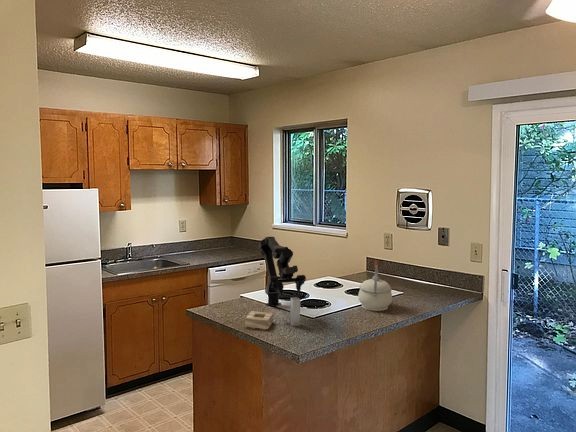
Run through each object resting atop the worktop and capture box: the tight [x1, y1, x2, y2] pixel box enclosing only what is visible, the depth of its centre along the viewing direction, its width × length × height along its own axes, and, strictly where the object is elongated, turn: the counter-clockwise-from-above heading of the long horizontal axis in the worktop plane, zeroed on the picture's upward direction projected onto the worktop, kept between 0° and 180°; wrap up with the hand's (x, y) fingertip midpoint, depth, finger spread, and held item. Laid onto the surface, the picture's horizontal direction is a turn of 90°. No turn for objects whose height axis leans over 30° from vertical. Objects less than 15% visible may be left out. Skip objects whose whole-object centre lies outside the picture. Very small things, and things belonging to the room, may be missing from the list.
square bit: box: [289, 296, 301, 327], centre depth 225 cm, size 4×4×13 cm
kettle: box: [357, 259, 393, 312], centre depth 258 cm, size 25×18×25 cm
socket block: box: [244, 310, 274, 330], centre depth 224 cm, size 11×11×4 cm
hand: (290, 295), depth 231 cm, fingers open, 9 cm apart
